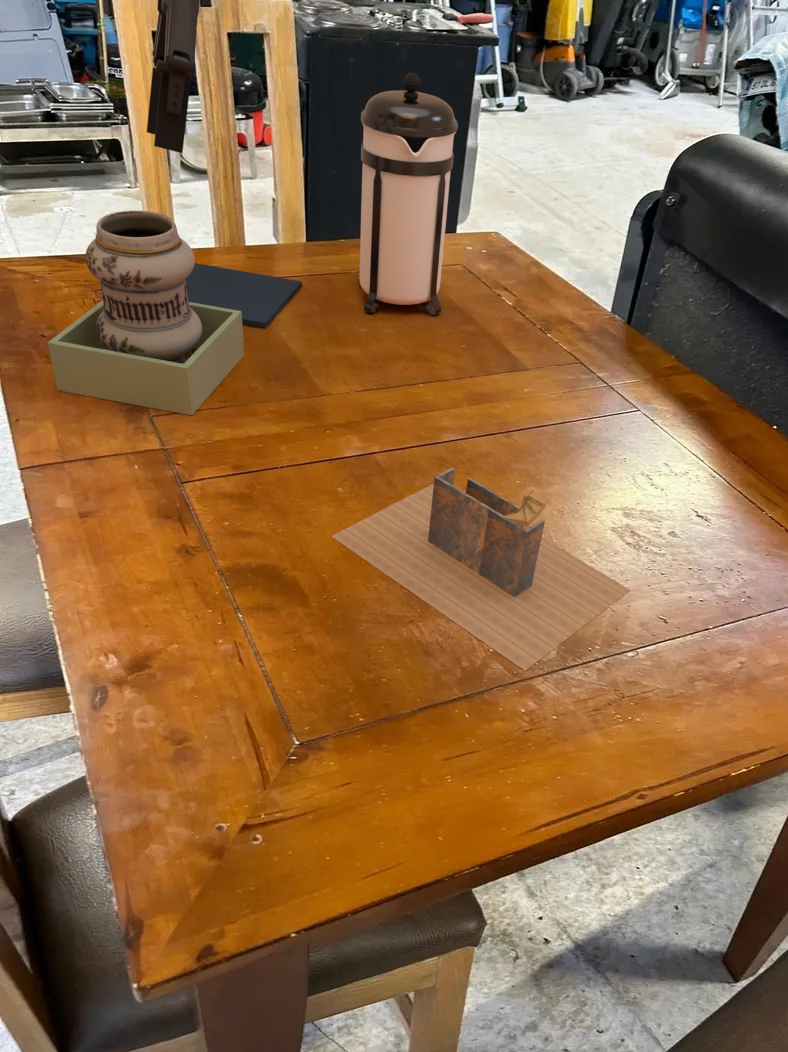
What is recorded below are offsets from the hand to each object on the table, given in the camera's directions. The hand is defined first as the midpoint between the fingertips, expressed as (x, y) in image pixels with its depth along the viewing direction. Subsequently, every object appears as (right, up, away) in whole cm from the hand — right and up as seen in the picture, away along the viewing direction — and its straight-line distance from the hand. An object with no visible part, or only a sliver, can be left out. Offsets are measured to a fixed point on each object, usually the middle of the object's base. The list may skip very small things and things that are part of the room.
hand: (163, 142), depth 95 cm
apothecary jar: (-6, -21, +15) cm, 26 cm away
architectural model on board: (+34, -45, -8) cm, 57 cm away
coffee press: (+22, -3, +39) cm, 45 cm away
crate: (-6, -21, +15) cm, 26 cm away
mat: (-3, -5, +34) cm, 34 cm away
